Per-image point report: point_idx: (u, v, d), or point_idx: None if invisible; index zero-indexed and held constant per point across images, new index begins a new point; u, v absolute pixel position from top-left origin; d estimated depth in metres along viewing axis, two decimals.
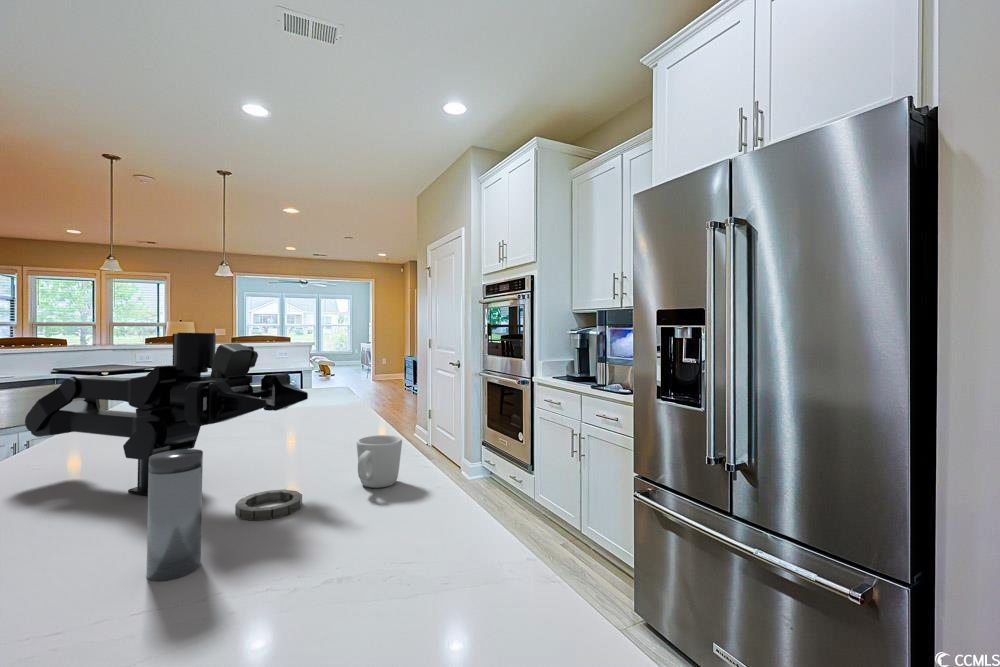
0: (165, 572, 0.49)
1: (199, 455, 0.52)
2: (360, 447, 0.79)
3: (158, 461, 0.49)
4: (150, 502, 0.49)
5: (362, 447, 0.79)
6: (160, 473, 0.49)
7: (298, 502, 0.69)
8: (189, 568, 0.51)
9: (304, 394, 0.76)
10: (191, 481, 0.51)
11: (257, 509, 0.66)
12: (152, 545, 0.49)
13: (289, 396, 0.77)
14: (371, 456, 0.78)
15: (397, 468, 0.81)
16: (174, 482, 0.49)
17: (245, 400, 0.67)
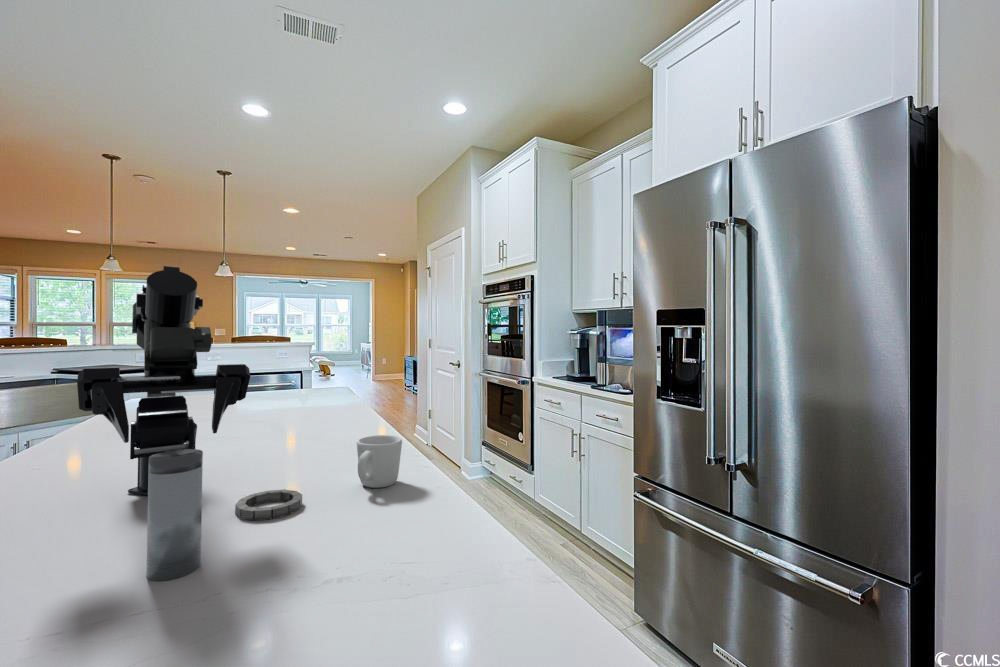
0: (165, 572, 0.49)
1: (199, 455, 0.52)
2: (360, 447, 0.79)
3: (158, 461, 0.49)
4: (150, 502, 0.49)
5: (362, 447, 0.79)
6: (160, 473, 0.49)
7: (298, 502, 0.69)
8: (189, 568, 0.51)
9: (213, 428, 0.61)
10: (191, 481, 0.51)
11: (257, 509, 0.66)
12: (152, 545, 0.49)
13: (213, 411, 0.63)
14: (371, 456, 0.78)
15: (397, 468, 0.81)
16: (174, 482, 0.49)
17: (116, 421, 0.56)
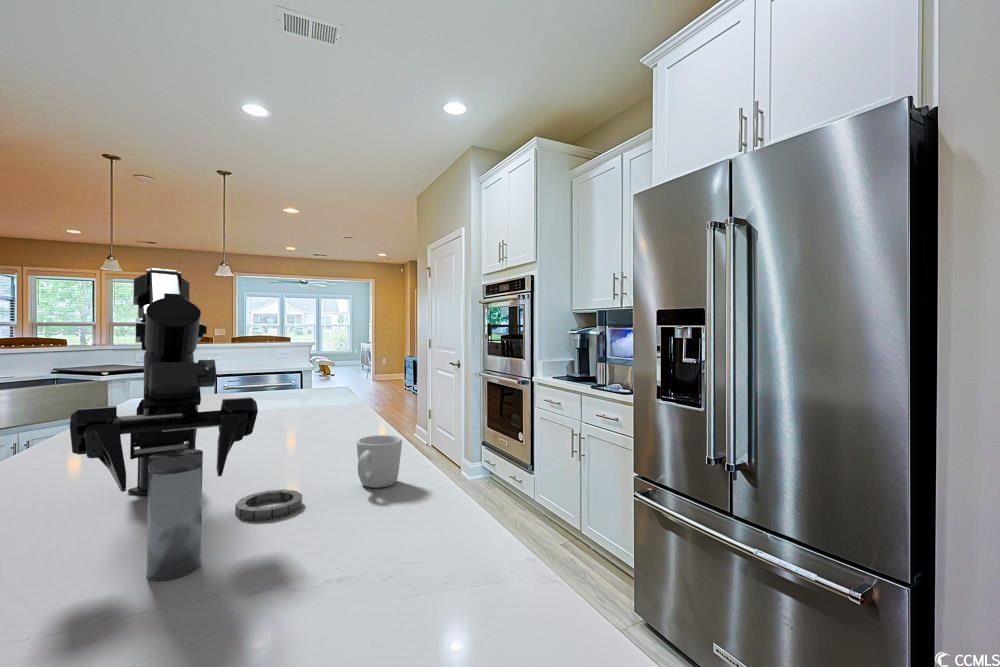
0: (165, 572, 0.49)
1: (199, 455, 0.52)
2: (360, 447, 0.79)
3: (158, 461, 0.49)
4: (150, 502, 0.49)
5: (362, 447, 0.79)
6: (160, 473, 0.49)
7: (298, 502, 0.69)
8: (189, 568, 0.51)
9: (218, 471, 0.56)
10: (191, 481, 0.51)
11: (257, 509, 0.66)
12: (152, 545, 0.49)
13: (218, 451, 0.58)
14: (371, 456, 0.78)
15: (397, 468, 0.81)
16: (174, 482, 0.49)
17: (113, 468, 0.51)
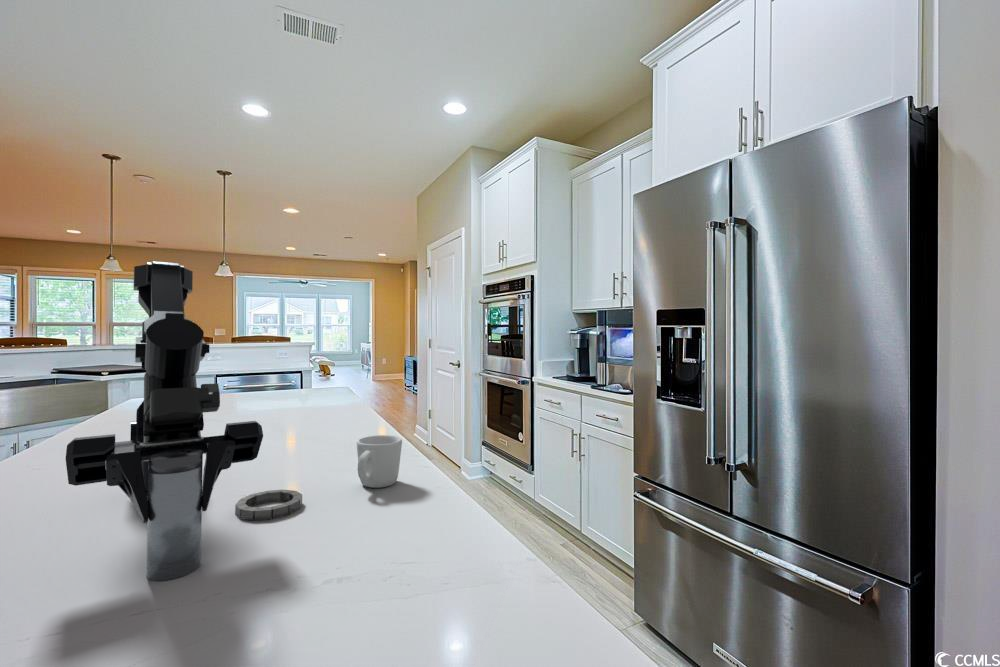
0: (165, 572, 0.49)
1: (199, 455, 0.52)
2: (360, 447, 0.79)
3: (158, 461, 0.49)
4: (150, 502, 0.49)
5: (362, 447, 0.79)
6: (160, 473, 0.49)
7: (298, 502, 0.69)
8: (189, 568, 0.51)
9: (202, 505, 0.52)
10: (191, 481, 0.51)
11: (257, 509, 0.66)
12: (152, 545, 0.49)
13: (203, 483, 0.54)
14: (371, 456, 0.78)
15: (397, 468, 0.81)
16: (174, 482, 0.49)
17: (134, 498, 0.49)
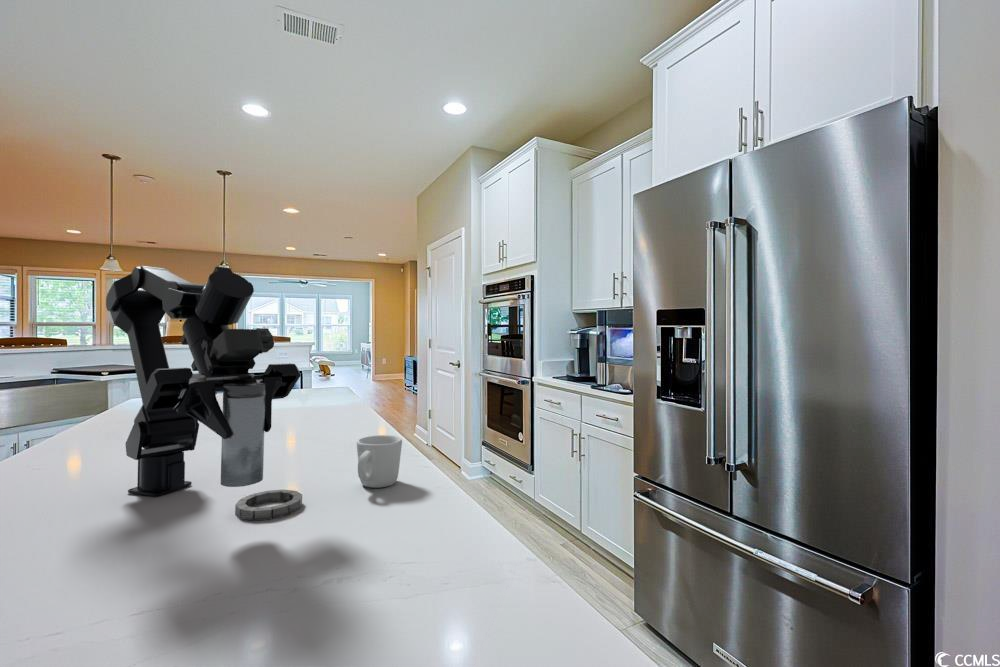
0: (243, 479, 0.59)
1: (265, 385, 0.62)
2: (360, 447, 0.79)
3: (238, 387, 0.59)
4: (229, 422, 0.59)
5: (362, 447, 0.79)
6: (239, 397, 0.59)
7: (298, 502, 0.69)
8: (259, 477, 0.61)
9: (267, 427, 0.63)
10: (261, 405, 0.61)
11: (257, 509, 0.66)
12: (231, 457, 0.59)
13: None
14: (371, 456, 0.78)
15: (397, 468, 0.81)
16: (251, 405, 0.60)
17: (214, 419, 0.59)
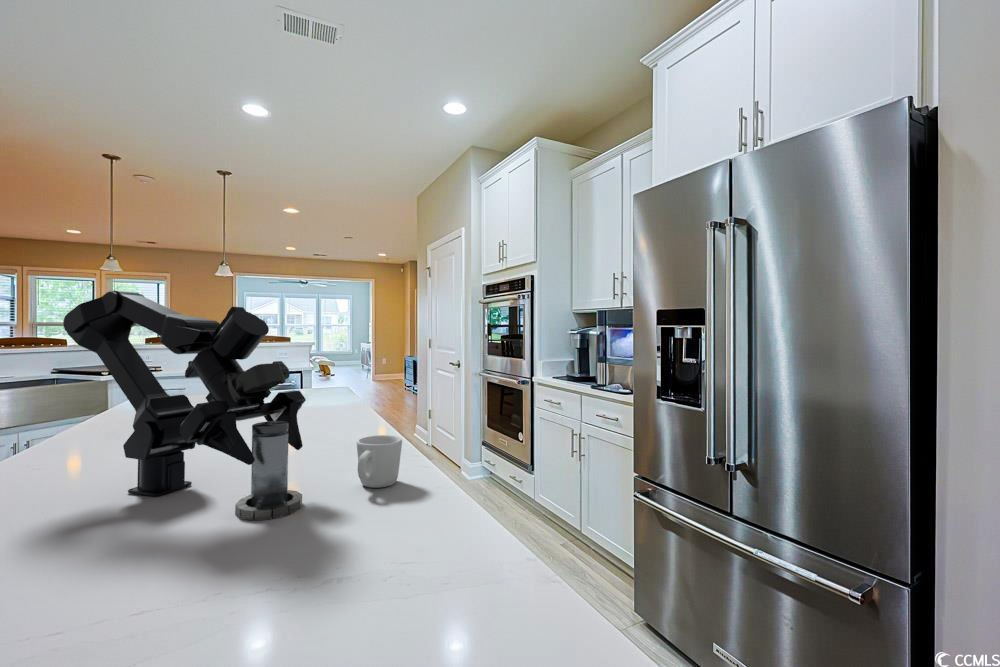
0: None
1: (287, 423, 0.71)
2: (360, 447, 0.79)
3: (270, 427, 0.68)
4: (262, 458, 0.67)
5: (362, 447, 0.79)
6: (272, 436, 0.68)
7: (298, 502, 0.69)
8: None
9: (299, 445, 0.73)
10: (287, 441, 0.70)
11: (257, 509, 0.66)
12: (265, 489, 0.67)
13: None
14: (371, 456, 0.78)
15: (397, 468, 0.81)
16: (281, 441, 0.69)
17: (238, 448, 0.65)
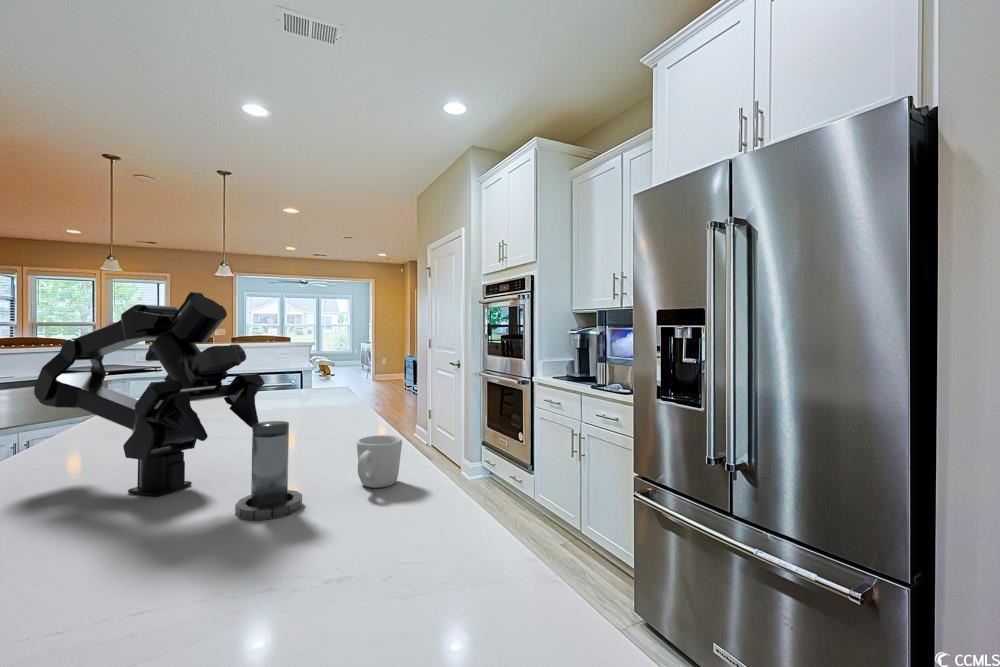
0: None
1: None
2: (360, 447, 0.79)
3: (271, 427, 0.68)
4: (262, 458, 0.67)
5: (362, 447, 0.79)
6: (272, 436, 0.68)
7: (298, 502, 0.69)
8: None
9: None
10: (287, 441, 0.70)
11: (257, 509, 0.66)
12: (266, 489, 0.67)
13: (245, 413, 0.78)
14: (371, 456, 0.78)
15: (397, 468, 0.81)
16: (281, 441, 0.69)
17: (191, 424, 0.68)
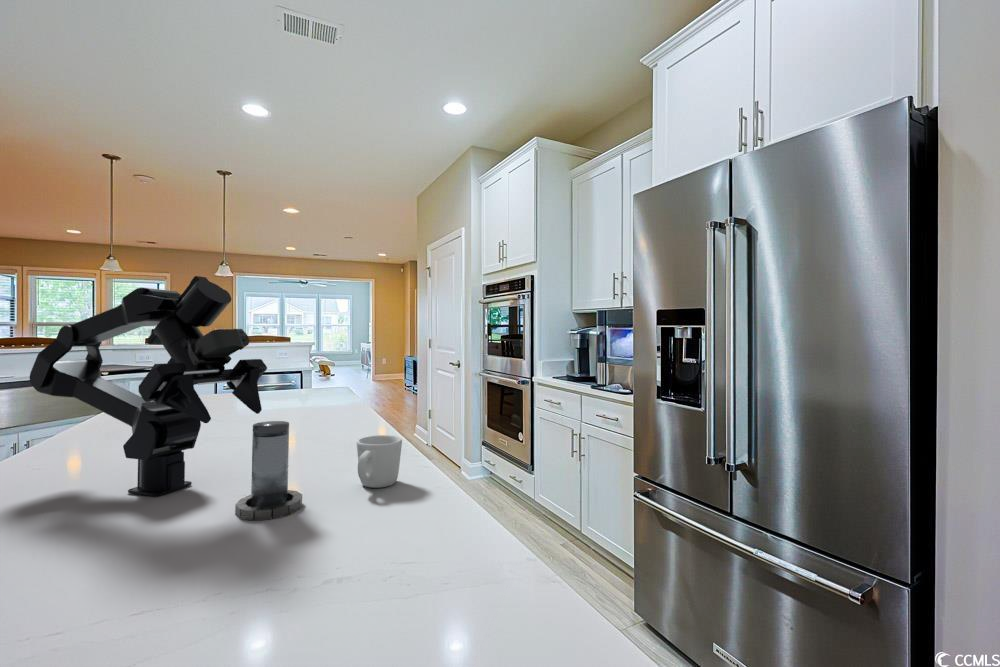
0: None
1: (288, 423, 0.71)
2: (360, 447, 0.79)
3: (271, 427, 0.68)
4: (262, 458, 0.67)
5: (362, 447, 0.79)
6: (272, 436, 0.68)
7: (298, 502, 0.69)
8: None
9: (258, 409, 0.77)
10: (288, 441, 0.70)
11: (257, 509, 0.66)
12: (266, 489, 0.67)
13: (248, 397, 0.78)
14: (371, 456, 0.78)
15: (397, 468, 0.81)
16: (282, 441, 0.69)
17: (195, 407, 0.68)
